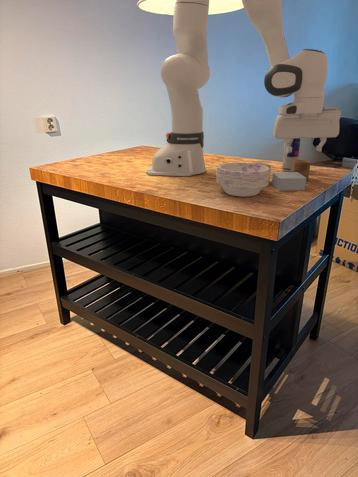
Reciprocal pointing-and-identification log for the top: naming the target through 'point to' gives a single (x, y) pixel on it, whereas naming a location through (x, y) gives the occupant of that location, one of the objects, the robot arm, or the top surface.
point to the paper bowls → (242, 178)
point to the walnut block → (301, 167)
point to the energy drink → (291, 156)
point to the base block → (288, 181)
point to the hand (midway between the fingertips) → (303, 152)
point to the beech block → (265, 165)
